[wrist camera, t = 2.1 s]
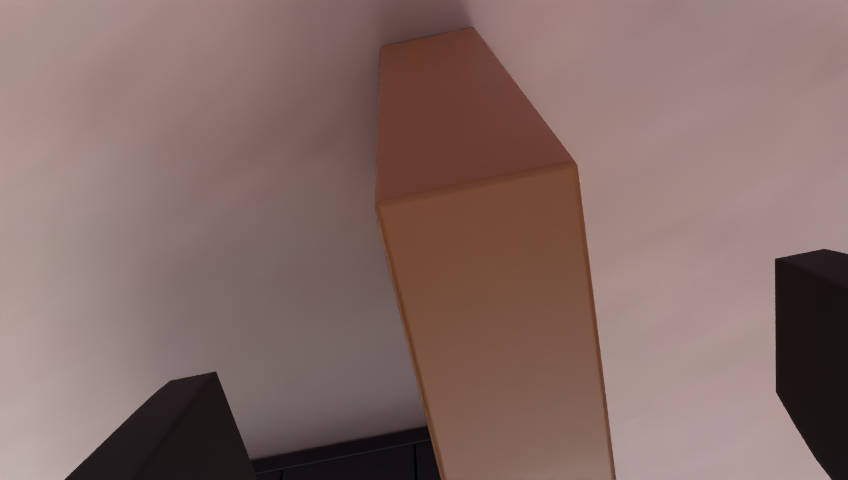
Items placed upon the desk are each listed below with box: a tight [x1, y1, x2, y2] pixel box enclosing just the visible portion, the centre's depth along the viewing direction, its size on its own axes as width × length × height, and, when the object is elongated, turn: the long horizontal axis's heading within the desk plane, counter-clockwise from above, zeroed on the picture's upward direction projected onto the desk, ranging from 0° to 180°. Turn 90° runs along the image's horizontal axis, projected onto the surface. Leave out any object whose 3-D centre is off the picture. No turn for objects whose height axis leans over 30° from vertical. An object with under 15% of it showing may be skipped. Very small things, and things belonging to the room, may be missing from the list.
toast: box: [375, 27, 616, 480], centre depth 13 cm, size 2×6×9 cm, turn 12°
